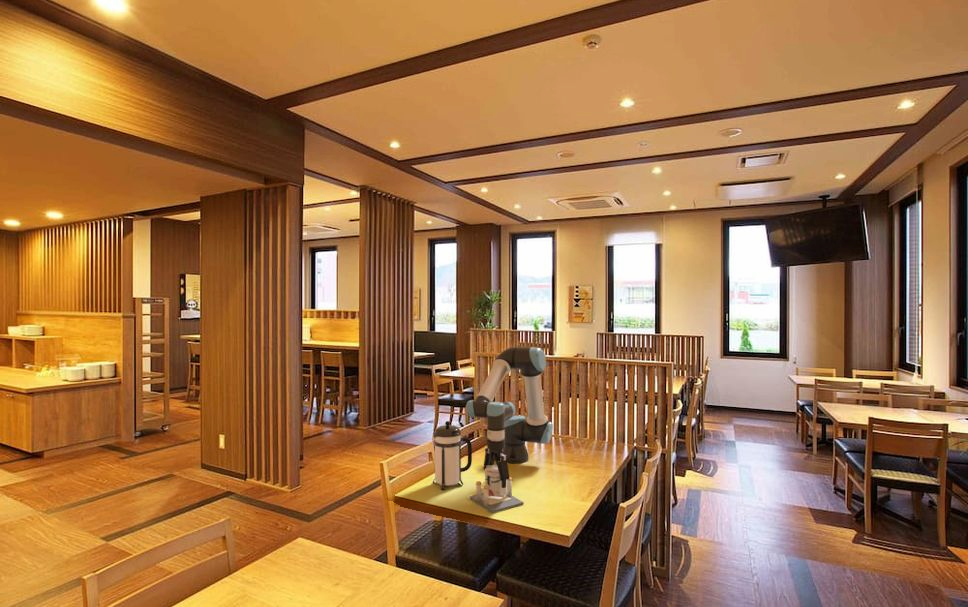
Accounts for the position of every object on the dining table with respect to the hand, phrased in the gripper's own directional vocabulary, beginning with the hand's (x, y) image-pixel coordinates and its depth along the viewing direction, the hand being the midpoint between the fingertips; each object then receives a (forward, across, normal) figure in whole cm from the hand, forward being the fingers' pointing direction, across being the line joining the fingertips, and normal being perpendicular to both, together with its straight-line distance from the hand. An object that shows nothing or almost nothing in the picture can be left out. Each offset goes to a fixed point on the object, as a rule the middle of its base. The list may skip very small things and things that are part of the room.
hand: (496, 490), depth 210 cm
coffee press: (+5, -29, -7) cm, 30 cm away
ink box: (+2, 0, 0) cm, 2 cm away
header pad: (+5, 0, 0) cm, 5 cm away
